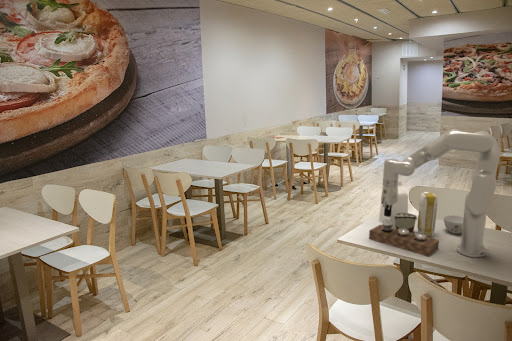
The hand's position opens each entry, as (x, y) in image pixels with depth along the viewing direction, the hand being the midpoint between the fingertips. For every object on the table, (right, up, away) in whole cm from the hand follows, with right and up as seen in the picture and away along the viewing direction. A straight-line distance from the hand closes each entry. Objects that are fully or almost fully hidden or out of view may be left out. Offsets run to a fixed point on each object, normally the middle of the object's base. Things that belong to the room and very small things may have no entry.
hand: (387, 216), depth 215 cm
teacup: (+43, -11, +11) cm, 45 cm away
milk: (+12, -8, +27) cm, 31 cm away
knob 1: (0, -9, +2) cm, 9 cm away
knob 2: (+7, -13, -4) cm, 15 cm away
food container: (+14, -10, +15) cm, 23 cm away
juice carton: (+24, -11, +10) cm, 29 cm away
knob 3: (+13, -14, -10) cm, 22 cm away
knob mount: (+7, -14, -3) cm, 16 cm away
